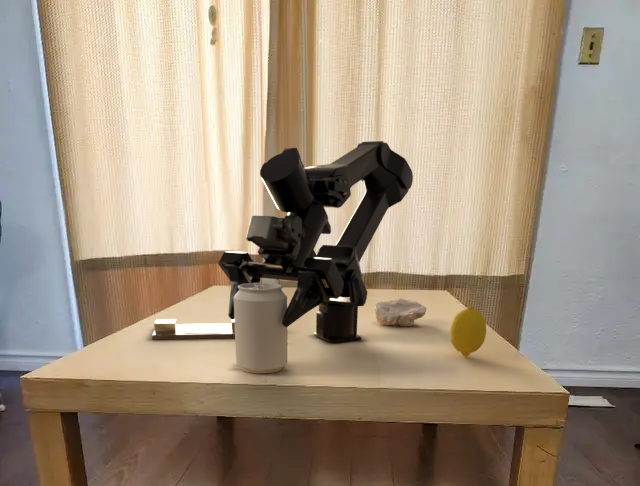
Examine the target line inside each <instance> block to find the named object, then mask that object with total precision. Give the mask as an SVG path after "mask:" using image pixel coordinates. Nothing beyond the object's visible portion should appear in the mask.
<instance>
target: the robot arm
mask: <svg viewBox="0 0 640 486" xmlns="http://www.w3.org/2000/svg"><path fill="white" fill-rule="evenodd" d="M259 174H260V178H261V180H262V182H263V184H264V186H265V187H266V189H267V191H268V194H269V195H270V197H271V200H273V203H274V204H275V207H276V208H277V209H278V211H280V212H282V213H287V215H285V216H284V217H277V216H273V215H251V216H250V220H249V224H248V228H247V233H246V236H245V240H246V241H248V242H251V243H253V244H254V245H255V246H257V247H258V250H257V254H258V255H259V257H260V258H261V259H262V258H263V260H264V261H263V262H257V261H254V260H253V259H252V257H251V255H250V253H249V252H246V251H232V250H228V251H224V252H223V253H222V254H221V257H220V259H219V261H218V263H217V265H218V266H219V267H220V269H221V270H222V271H223V273H224V274H225V275H226V277H227V278H228V280H229V281H230V293H229V294H230V295H229V302H228V303H229V304H228V313H227V315H228V317H229V319H230V320H231V319H232V320H234V296H235V294H236V293H237V292H238V291H239V288H238V285H241V284H246V283H261V279H270V280H278V281H280V282H287V283H296V289H295V291H294V292H293V295H292V297H291V299H290V301H289V303H288V305H287V310H286V312H285V315H284V317H283V320H282V324H283V325H284V327H287V328H288V327H290V326H291V325H293V324H294V323H295V322H296V321H298V320H300V319H301V318H302V317H303V316H304V315H306V314H307V313H309V312H310V311H312V310H313V309H315V308H317V307H318V311H317V312H316V314H315V315H316V317H315V318H316V320H315V322H316V323H315V332H314V333H313V336H314V337H316V338H319V339H321V340H323V341H326V342H328V343H339V342H340V343H341V342H348V341H357V340H362V338H363V337H362V335H359V334H358V318H359V317H358V314H359V307H364V306H365V304H366V302H367V299H368V290H367V287H366V285H365V283H364V281H363V278H362V277H363V275H362V274H363V273H362V269H361V264H360V262H361V260H362V258H363V256H364V254H365V252H366V251H367V248H368V247H369V244H370V243H371V241H372V239H373V237H374V235H375V234H376V231H377V230H378V228H379V227H380V225H381V222H382V221H383V219H384V217H385V215H386V213H387V211H388V209H389V208H391V207H393V206H396V205H397V204H399V203H401V202H402V201H403V200H404V198H405V197H406V195H407V194H408V192H409V191H410V189H411V188H412V186H413V181H414V175H413V171H412V169H411V166H410V164H409V163H408V161H407V159H406V158H405V157H403V156H402V155H401V154H398V153H397V152H395V151H394V150H393V149H391V147H390V146H389V143H387V142H384V141H383V140H372V141H371V140H370V141H369V140H368V141H362V142H361V143H358V144H357V146H356V147H355V148H353V149H352V150H350V151H348V152H346V153H345V154H344V155H342V156H340V157H339V158H337V159H335V160H334V161H332V162H331V163H327V164H326V163H325V164H319V165H312V166H307V167H305V166H304V164H303V161H302V158H301V154H300V152H299V149H298V148H297V147H284V148H283V150H282V152H280V153H278V154H275V155H274V156H272V157H270V159H268V160H267V161H266V162H264V163H263V164H262V165H261V168H260V170H259ZM360 181H361V182H362V183H363V186H364V190H365V193H364V195H363V196H362V199H361V200H360V202H359V203H358V205H357V207H356V209H355V210H354V213H353V214H352V216H351V218H350V220H349V221H348V223H347V225H346V226H345V228H344V230H343V232H342V233H341V236H340V237H339V239H338V240H337V242H336V243H335V245H332V244H331V245H330V244H322V245H321V246H320V247H319V249H318V251H317V253H316V251H315V247H316V245H317V243H318V241H319V239H320V237H321V235H331V233H332V226H331V223H330V221H329V215H328V213H327V210H326V209H339V208H341V207H343V206H344V205H345V203H346V202H347V201H348V200H349V198H350V197H351V195H352V192H351V191H352V190H351V188H352V187H353V186H355V185H357V183H359V182H360Z"/></svg>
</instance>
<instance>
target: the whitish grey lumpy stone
mask: <svg viewBox="0 0 640 486" xmlns="http://www.w3.org/2000/svg"><path fill="white" fill-rule="evenodd" d="M426 312H427V307H426V306H424V305H423V304H422V303H420V302H418V301H416V300H413V299H412V300H411V299H405V298H394V299H389V300H386V301H379V302H376V303H375V307H374V314H375V319H376V322H377V323H379V324H381V325H384V326H393V325H398V326H401V327H411V326H412V325H414V323H415V321H417V320H418V319H421V318H423V317H424V316H425V315H426Z"/></svg>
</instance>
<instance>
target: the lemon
mask: <svg viewBox="0 0 640 486" xmlns="http://www.w3.org/2000/svg"><path fill="white" fill-rule="evenodd" d="M486 335H487V322H486V319H485V317H484V315H483V314H482V312H481V311H479V310H477V309H475V308H474V306H471V305H470V306H468V307H467V308H464V309H461V310H460V311H459V312H457V313H456V315H454V317H453V319H452V321H451V324H450V330H449V338H450V343H451V345H452V347H453V348H454V349H455V350H456V351H457V352H459V353H460V354H461V355H462V356H463V357H468V356H470V355H471V354H472V353H475V352H476V351H478V350H479V349H480V348H482V346H483V344H484V342H485V339H486Z"/></svg>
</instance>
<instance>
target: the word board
mask: <svg viewBox="0 0 640 486" xmlns="http://www.w3.org/2000/svg"><path fill="white" fill-rule="evenodd" d="M177 321H178V320H177V319H176V318H167V319H166V318H165V319H164V318H163V319H162V318H161V319H160V318H159V319H157V318H156V319H155V321H154V323H153V326H154V327H153V329H154V330H153V333H152V335H151V339H152V340H155V341H156V340H205V339H206V340H207V339H209V340H210V339H235V320H232V319H231V318H230V323H178V322H177Z"/></svg>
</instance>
